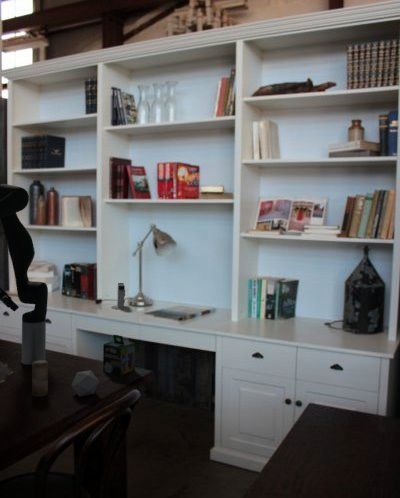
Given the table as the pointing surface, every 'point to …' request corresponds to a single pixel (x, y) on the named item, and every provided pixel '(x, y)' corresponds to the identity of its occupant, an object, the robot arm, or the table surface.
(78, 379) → the die
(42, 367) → the oak cylinder
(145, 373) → the table surface
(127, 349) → the chalk box
